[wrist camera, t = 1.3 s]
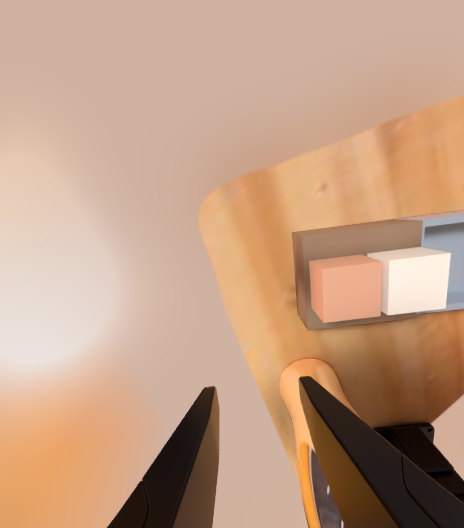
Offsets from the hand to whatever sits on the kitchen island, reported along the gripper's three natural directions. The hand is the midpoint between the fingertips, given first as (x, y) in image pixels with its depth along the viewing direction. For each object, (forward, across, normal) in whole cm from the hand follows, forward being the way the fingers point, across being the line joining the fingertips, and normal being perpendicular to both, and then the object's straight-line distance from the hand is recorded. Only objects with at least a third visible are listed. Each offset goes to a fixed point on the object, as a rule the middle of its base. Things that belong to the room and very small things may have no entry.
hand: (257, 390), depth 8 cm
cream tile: (+10, -12, 0) cm, 16 cm away
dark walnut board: (+13, -10, 0) cm, 16 cm away
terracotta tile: (+10, -7, 0) cm, 12 cm away
